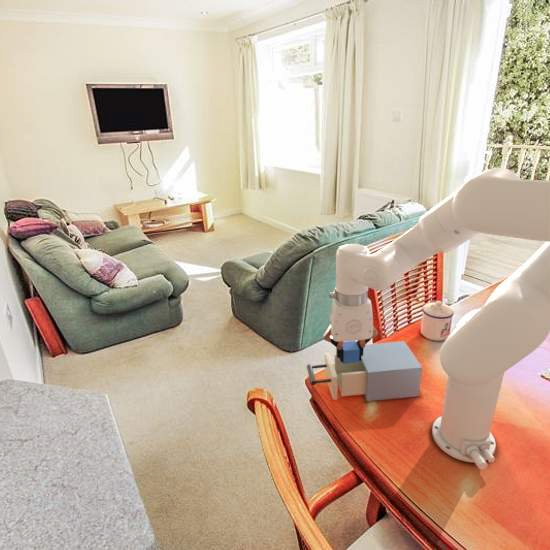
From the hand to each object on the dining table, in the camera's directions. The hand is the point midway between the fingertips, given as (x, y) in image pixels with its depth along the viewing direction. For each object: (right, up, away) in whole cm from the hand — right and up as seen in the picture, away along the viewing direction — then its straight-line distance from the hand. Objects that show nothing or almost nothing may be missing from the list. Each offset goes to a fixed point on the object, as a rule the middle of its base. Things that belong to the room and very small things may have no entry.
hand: (349, 357), depth 97 cm
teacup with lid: (+33, +3, +25) cm, 42 cm away
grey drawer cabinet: (+10, -8, +4) cm, 14 cm away
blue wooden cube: (0, 0, 0) cm, 0 cm away
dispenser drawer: (-1, -8, +3) cm, 9 cm away
